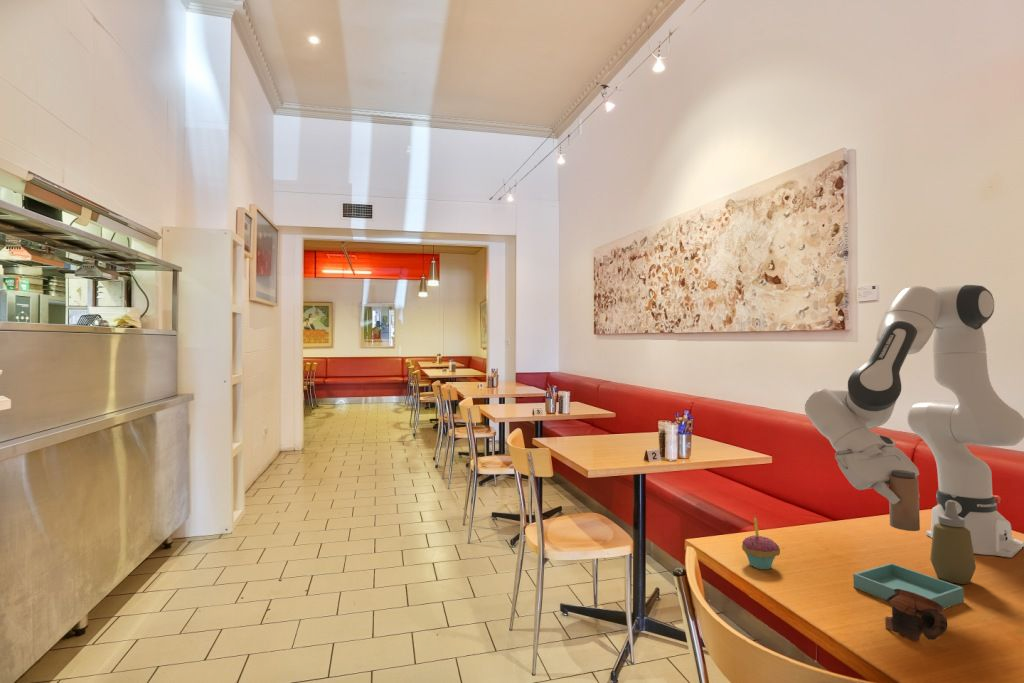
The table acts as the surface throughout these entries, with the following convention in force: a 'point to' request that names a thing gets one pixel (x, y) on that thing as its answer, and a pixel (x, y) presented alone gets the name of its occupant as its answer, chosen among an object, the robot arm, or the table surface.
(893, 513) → the shaker
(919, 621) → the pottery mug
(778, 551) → the cupcake
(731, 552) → the table surface
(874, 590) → the tray
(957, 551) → the squeeze bottle
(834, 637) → the table surface
